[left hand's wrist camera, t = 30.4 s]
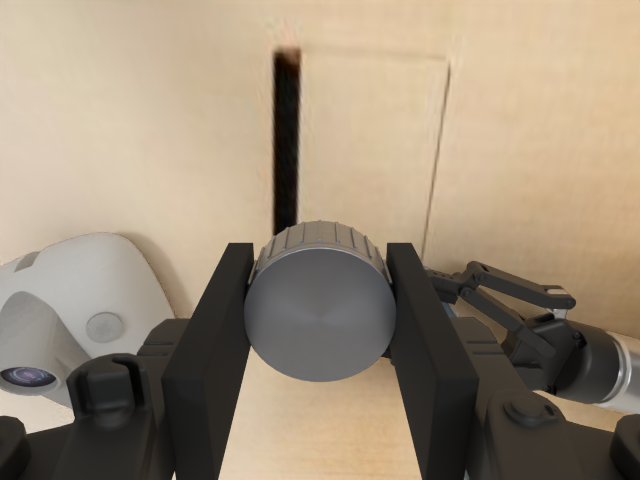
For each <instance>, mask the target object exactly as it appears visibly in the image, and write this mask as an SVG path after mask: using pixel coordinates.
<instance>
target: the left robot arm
mask: <svg viewBox="0 0 640 480" xmlns="http://www.w3.org/2000/svg"><path fill="white" fill-rule="evenodd" d="M386 264H387V267H388V270H389V273H390V276H391V279H392V282H393V285H391V286H392V290H393V293H394V296H395V299H396V304H397V310H396V325H395V333H394V336H393V338H392V340H391V342H390V344H389V346H390V350H391V354H392V358H393V362H394V366H395V370H396V374H397V378H398V382H399V387H400V391H401V395H402V399H403V403H404V407H405V411H406V415H407V419H408V423H409V427H410V432H411V436H412V440H413V444H414V448H415V452H416V456H417V460H418V464H419V468H420V473H421V477H422V480H464V477H465V470H466V471H467V474H468V477H469V479H470V480H640V414H632V415H627V416H624V417H622V418H621V419H620V420H619V421H618V422H617V425H616V428H615V432H610V431H605V430H601V429H597V428H592V427H588V426H583V425H579V424H576V423H573V422H569V421H567V420H566V419H565V417H564V415H563V414H562V412H561V411H560V409H559V408H558V407H557V406H556V405H555V404H553V403H552V402H551V401H550V400H548V399H547V398H545V397H543V396H541V395H539V394H537V393H535V392H532V391H529V390H528V389H527V387H526V386H525V384H524V383H523V381H522V379H521V378H520V376H519V375H518V373H517V371H516V370H515V368H514V367H513V365H512V364H511V362H510V360H509V359H508V357H507V356H506V355H504V351H503V349H502V348H501V346H500V345H499V344H497V340H496V338H495V337H494V335H493V334H492V332H491V331H490V329H489V328H488V327H487V326H485V325H484V324H482V323H481V322H480V321H478V320H477V319H476V318H474V317H449V316H448V314H447V312H446V310H445V308H444V306H443V304H442V302H441V301H440V299H439V297H438V295H437V293H436V291H435V289H434V287H433V285H432V283H431V281H430V279H429V277H428V275H427V273H426V271H425V269H424V267H423V265H422V263H421V261H420V259H419V257H418V255H417V253H416V251H415V249H414V247H413V245H412V243H387V256H386ZM253 265H254V250H253V243H229V244H228V246H227V248H226V250H225V252H224V254H223V256H222V258H221V260H220V262H219V264H218V265H217V267H216V269H215V271H214V273H213V275H212V277H211V279H210V281H209V283H208V285H207V287H206V289H205V291H204V293H203V295H202V297H201V299H200V301H199V303H198V305H197V307H196V309H195V311H194V313H193V315H192V317H191V319H165V320H164V321H163V322H161V323H160V324H159V325H157V326H156V327H155V328H153V329H152V330H151V331H150V333H149V334H148V336H147V338H146V339H145V341H144V342H143V345H142V346H141V347H140V349H139V350H138V352H137V355H134V354H130V353H112V354H108V355H103V356H99V357H97V358H94V359H92V360H90V361H87V362H85V363H83V364H82V365H81V366H79V367H78V368H76V369H75V370H73V371H72V373H71V374H70V375H69V377H68V378H67V379H66V384H67V388H68V392H69V396H70V400H71V404H72V408H73V412H74V416H75V420H74V422H73V423H71V424H67V425H64V426H61V427H57V428H52V429H48V430H43V431H39V432H35V433H30V434H26V430H25V427H24V424H23V423H22V422H21V421H20V420H19V419H18V418H15V417H10V416H0V480H172V477H173V474H174V471H175V475H176V480H218V478H219V474H220V470H221V466H222V461H223V457H224V453H225V449H226V445H227V441H228V437H229V433H230V429H231V425H232V420H233V416H234V412H235V408H236V404H237V400H238V396H239V392H240V388H241V384H242V380H243V375H244V371H245V367H246V363H247V359H248V355H249V351H250V347H251V344H250V342H249V340H248V338H247V335H246V332H245V320H244V300H245V296H246V293H247V290H248V287H249V286H248V285H247V283H248V280H249V277H250V274H251V271H252V268H253Z"/></svg>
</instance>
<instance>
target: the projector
mask: <svg viewBox="0 0 640 480" xmlns="http://www.w3.org/2000/svg"><path fill="white" fill-rule="evenodd" d="M165 319H175V316H174V314H173V311H172V309H171V307H170V304H169V302H168V300H167V298H166V296H165V294H164V292H163V290H162V288H161V286H160V284H159V282H158V280H157V278H156V276H155V274H154V273H153V271H152V269H151V267H150V266H149V264H148V262H147V261H146V260H145V258H144V257H143V255H142V254H141V252H140V251H139V250H138V249H137V248H136V246H135V245H134V244H133V243H132V242H130V241H129V240H128V239H126V238H124V237H123V236H120V235H117V234H113V233H105V232H103V233H92V234H87V235H83V236H79V237H75V238H72V239H68V240H65V241H62V242H59V243H56V244H54V245H51V246H48V247H46V248H45V249H44V250H42V251H41V252H32V253H30V254H27V255H24V256H22V257H20V258H17V259H15V260H13V261H11V262H8V263H6V264H5V265H3V266H1V267H0V389H2V390H4V391H6V392H9V393H13V394H17V395H26V396H36V395H42V396H44V397H46V398H48V399H50V400H52V401H55V402H57V403H59V404H61V405H64V406H66V407H68V408H71V409H73V408H72V404H71V400H70V396H69V392H68V388H67V384H66V379H67V378H68V377H69V375H70V374H71V373H72V371H73V370H75V369H76V368H78V367H79V366H81V365H82V364H83V363H85V362H87V361H90V360H92V359H94V358H97V357H99V356H103V355H108V354H112V353H130V354H134V355H137V352H138V350H139V349H140V347H141V346H142V345H143V342H144V341H145V339H146V338H147V336H148V334H149V333H150V331H151V330H152V329H153V328H155V327H156V326H157V325H159V324H160V323H161V322H163V321H164V320H165Z"/></svg>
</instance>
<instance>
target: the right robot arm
mask: <svg viewBox="0 0 640 480" xmlns="http://www.w3.org/2000/svg"><path fill="white" fill-rule="evenodd" d="M425 271H426V273H427V275H428V277H429V279H430V281H431V283H432V285H433V287H434V289H435V291H436V293H437V295H438V297H439V299H440V301H442V302H446V303H449V304H453V305H455V303H456V301H457V299H458V297H457V295H458V296H461V298H462V299H464V300H465V301H467V302H468V303H470V304H471V305H473V306H474V307H476V308H477V309H479V310H480V311H482V312H483V313H485V314H486V315H488V316H489V317H491V318H492V319H494V320H495V321H497V322H498V323H499V324H501V325H502V326H504V327H505V328H507V329H508V332H507V337H506V339H505V341H504V342H503V343H502V344H501V345H500V346H501V348H502V349H503V351H504V355H506V356H507V357H508V359H509V360H510V362H511V364H512V365H513V367H514V368H515V370H516V371H517V373H518V375H519V376H520V378H521V379H522V381H523V383H524V384H525V386H526V387H527V389H528V390H529V391H535V390H542V391H545V392H547V393H549V394H551V395H554V396H556V397H560V398H564V399H568V400H572V401H576V402H580V403H584V404H590V405H593V406H595V407H598V408H603V409H607V410H611V411H616V412H620V413H625V414H629V415H632V414H640V339H636V338H633V337H629V336H625V335H621V334H618V333H614V332H610V331H603V330H602V329H599V328H596V327H592V326H588V325H585V324H581V323H577V322H573V321H568V320H566V319H565V318H566V314H567V310H568V309H572V308H573V307H574V306H575V305H576V300H575V299H574V298H573V297H572V296H571V295H570V294H569V293H567V292H566V291H565V290H564V289H563V288H562V287H561V286H553V285H538V284H536V283H533V282H530V281H528V280H525V279H522V278H520V277H517V276H514V275H512V274H509V273H506V272H503V271H501V270H498V269H495V268H493V267H490V266H487V265H485V264H482V263H479V262H477V261H471V262H469V263H468V265H467V269H466V270H465V271H464V273H462V274H461V273H458V272H456V273H454V274H453V275H449V274H445V273H441V272H438V271H434V270H430V269H429V270H425ZM479 285H483V286H485V287H488V288H491V289H494V290H496V291H499V292H502V293H505V294H507V295H510V296H513V297H516V298H518V299H521V300H524V301H526V302H529V303H532V304H535V305H537V306H540V307H543V308H545V309H546V310H547V311H548V312H550V313H547V314H544V315H540V316H537V317H534V318H530V319H526V318H524V317H523V316H521V315H520V314H519V313H517V312H516V311H514V310H513V309H509V308H508V307H507V306H505V305H504V304H502V303H501V302H499V301H498V300H496V299H495V298H493V297H492V296H490V295H489V294H488V293H486V292H485V291H483V290H482V289H480V288H479V287H478V286H479ZM381 357H385V358H389V359H390V362H391V364H392V365H393V366H394V362H393V358H392V354H391V350H390V346H388V347H387V349H386V350H385V352H384V353H383V354H382V355H381Z"/></svg>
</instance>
